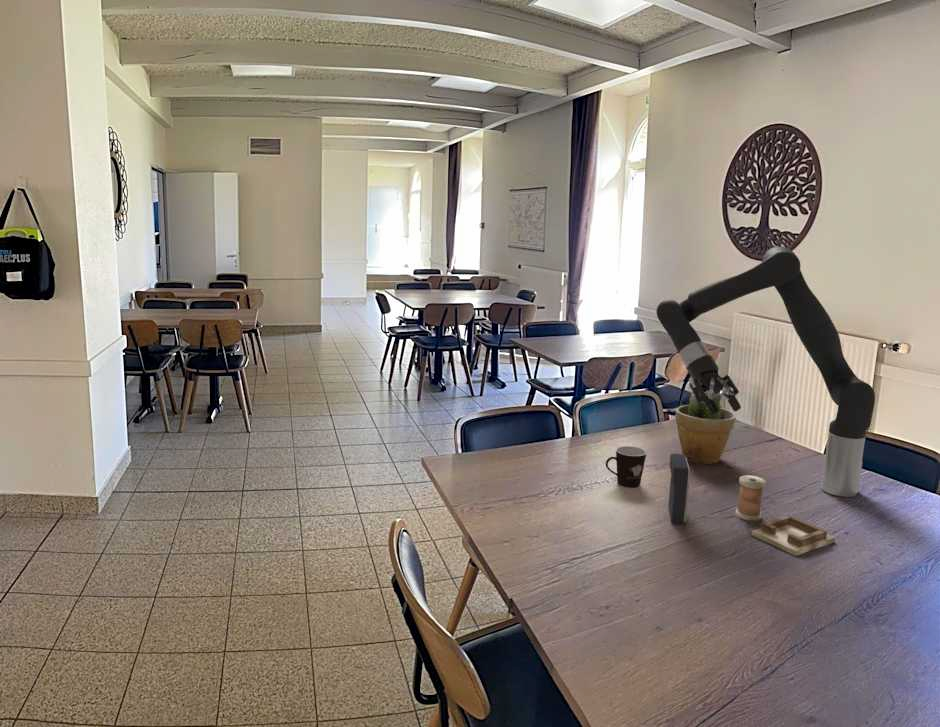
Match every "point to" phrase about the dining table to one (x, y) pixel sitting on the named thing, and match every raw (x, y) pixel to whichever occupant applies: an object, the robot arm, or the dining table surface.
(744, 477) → the bobbin
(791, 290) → the robot arm
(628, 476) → the coffee mug
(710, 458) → the potted plant
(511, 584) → the dining table surface
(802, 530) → the board
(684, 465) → the calculator
